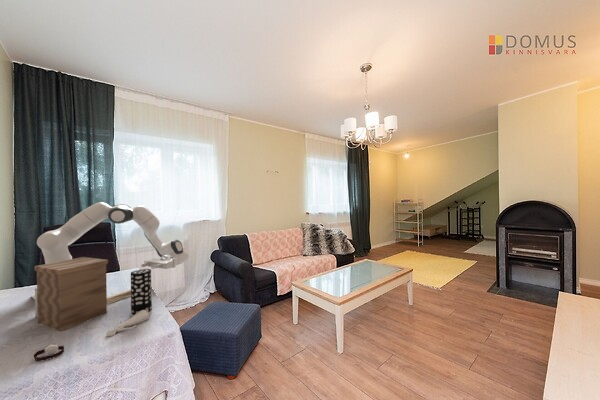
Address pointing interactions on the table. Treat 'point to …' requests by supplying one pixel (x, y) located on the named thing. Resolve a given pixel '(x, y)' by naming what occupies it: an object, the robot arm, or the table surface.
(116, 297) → the rod
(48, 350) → the watch
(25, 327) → the table surface
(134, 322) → the woman figurine
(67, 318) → the stand
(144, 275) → the white-spotted black cylinder
